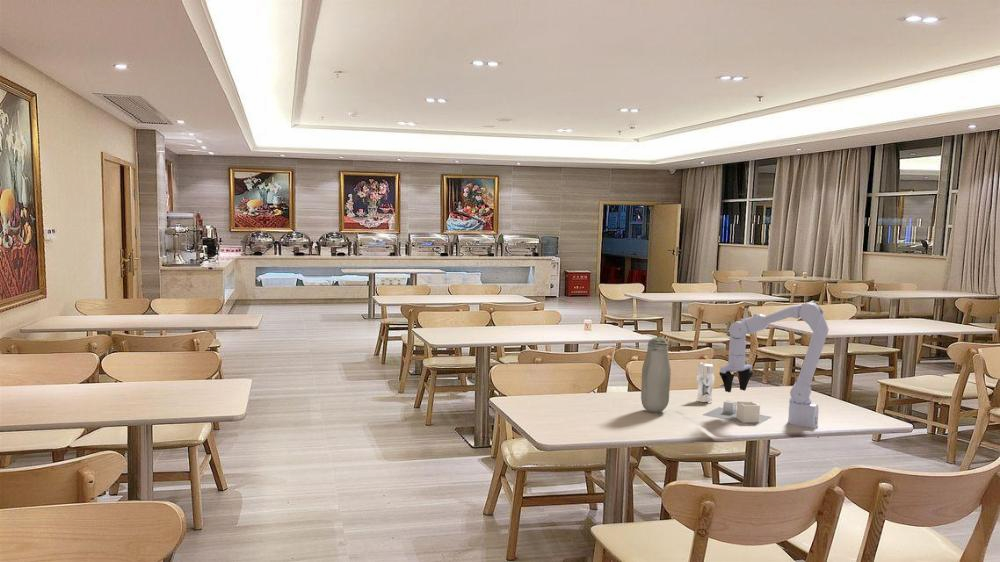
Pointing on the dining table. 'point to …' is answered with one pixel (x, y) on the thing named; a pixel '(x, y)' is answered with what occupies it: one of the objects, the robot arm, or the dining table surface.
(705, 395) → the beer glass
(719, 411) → the duct panel
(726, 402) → the duct stub
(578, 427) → the dining table surface
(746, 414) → the collar
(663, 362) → the grey bottle
